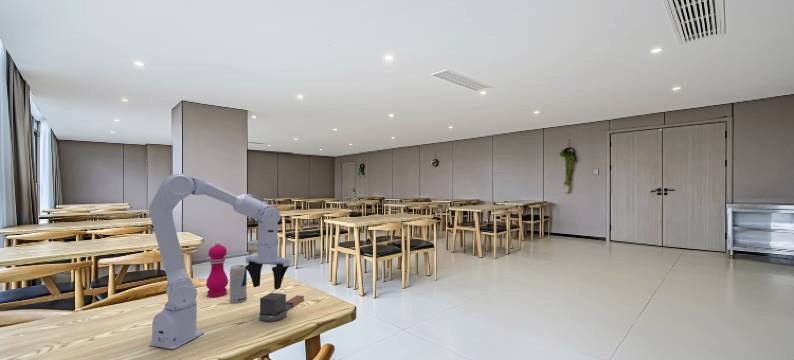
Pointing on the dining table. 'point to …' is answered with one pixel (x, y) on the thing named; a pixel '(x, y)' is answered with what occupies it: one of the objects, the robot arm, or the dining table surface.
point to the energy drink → (238, 283)
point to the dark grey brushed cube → (272, 304)
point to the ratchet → (281, 316)
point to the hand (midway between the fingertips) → (266, 287)
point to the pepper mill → (217, 271)
